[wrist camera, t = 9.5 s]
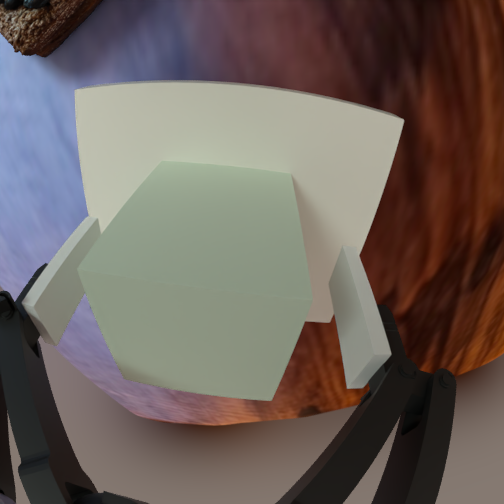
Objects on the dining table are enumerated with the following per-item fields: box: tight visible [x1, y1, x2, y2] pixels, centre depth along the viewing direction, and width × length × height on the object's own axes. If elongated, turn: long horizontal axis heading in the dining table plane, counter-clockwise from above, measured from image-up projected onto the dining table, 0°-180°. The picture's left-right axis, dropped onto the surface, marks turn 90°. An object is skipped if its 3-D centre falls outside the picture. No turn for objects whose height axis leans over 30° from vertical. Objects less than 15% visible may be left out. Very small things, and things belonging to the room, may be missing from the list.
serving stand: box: [75, 80, 404, 323], centre depth 19 cm, size 16×18×4 cm
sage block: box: [77, 161, 313, 401], centre depth 13 cm, size 7×7×9 cm
